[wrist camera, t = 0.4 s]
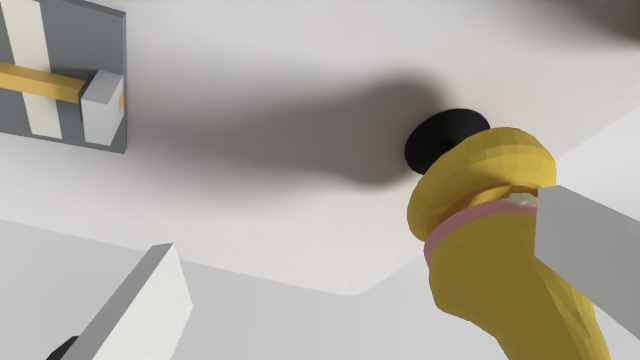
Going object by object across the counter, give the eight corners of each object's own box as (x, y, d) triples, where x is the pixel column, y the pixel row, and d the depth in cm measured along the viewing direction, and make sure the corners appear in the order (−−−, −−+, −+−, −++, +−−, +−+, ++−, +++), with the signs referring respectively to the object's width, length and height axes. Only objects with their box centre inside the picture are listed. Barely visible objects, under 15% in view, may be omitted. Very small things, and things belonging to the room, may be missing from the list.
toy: (528, 168, 39) (824, 581, 18) (422, 214, 43) (566, 592, 22) (496, 60, 28) (1091, 724, 8) (362, 134, 33) (525, 694, 12)
